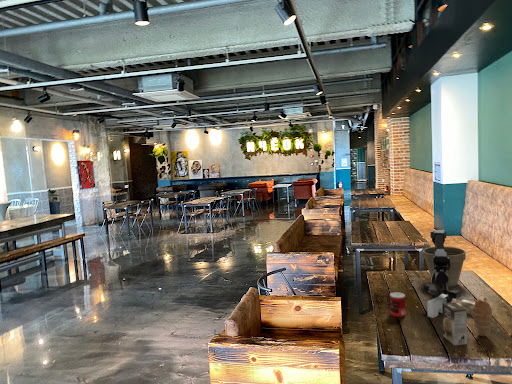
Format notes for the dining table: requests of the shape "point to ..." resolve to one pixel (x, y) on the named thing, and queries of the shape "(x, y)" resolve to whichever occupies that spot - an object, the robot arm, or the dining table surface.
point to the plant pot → (456, 264)
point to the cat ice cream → (482, 316)
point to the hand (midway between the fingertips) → (441, 306)
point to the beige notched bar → (465, 305)
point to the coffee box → (454, 323)
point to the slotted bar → (435, 306)
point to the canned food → (397, 304)
